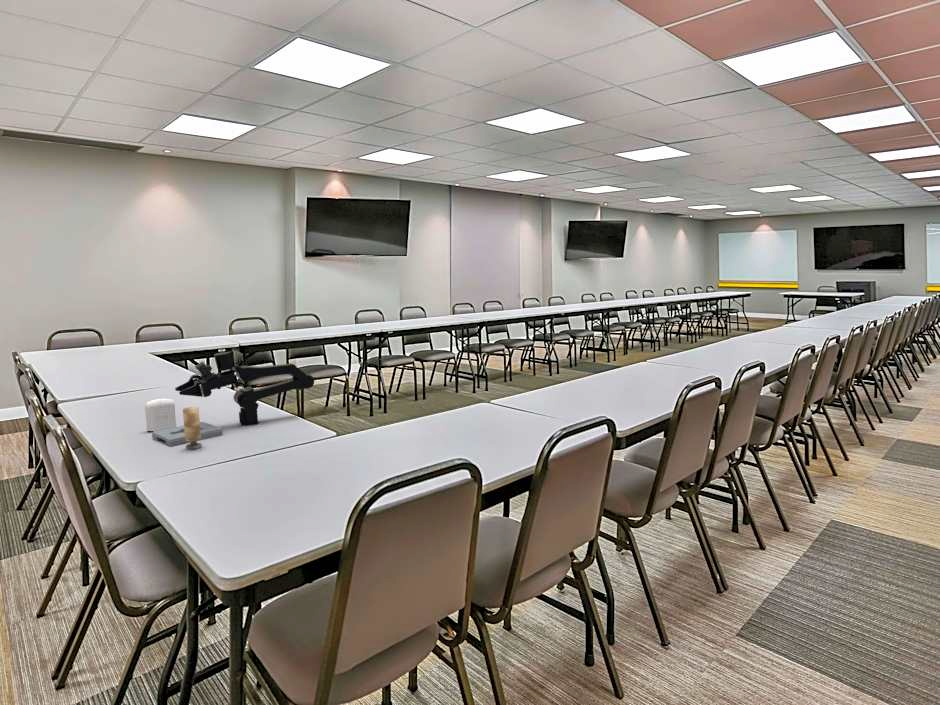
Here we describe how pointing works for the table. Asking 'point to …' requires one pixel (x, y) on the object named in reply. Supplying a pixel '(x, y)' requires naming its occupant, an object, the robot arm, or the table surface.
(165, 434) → the keyhole plate
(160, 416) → the photo printer
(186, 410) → the ribbed peg
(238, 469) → the table surface
